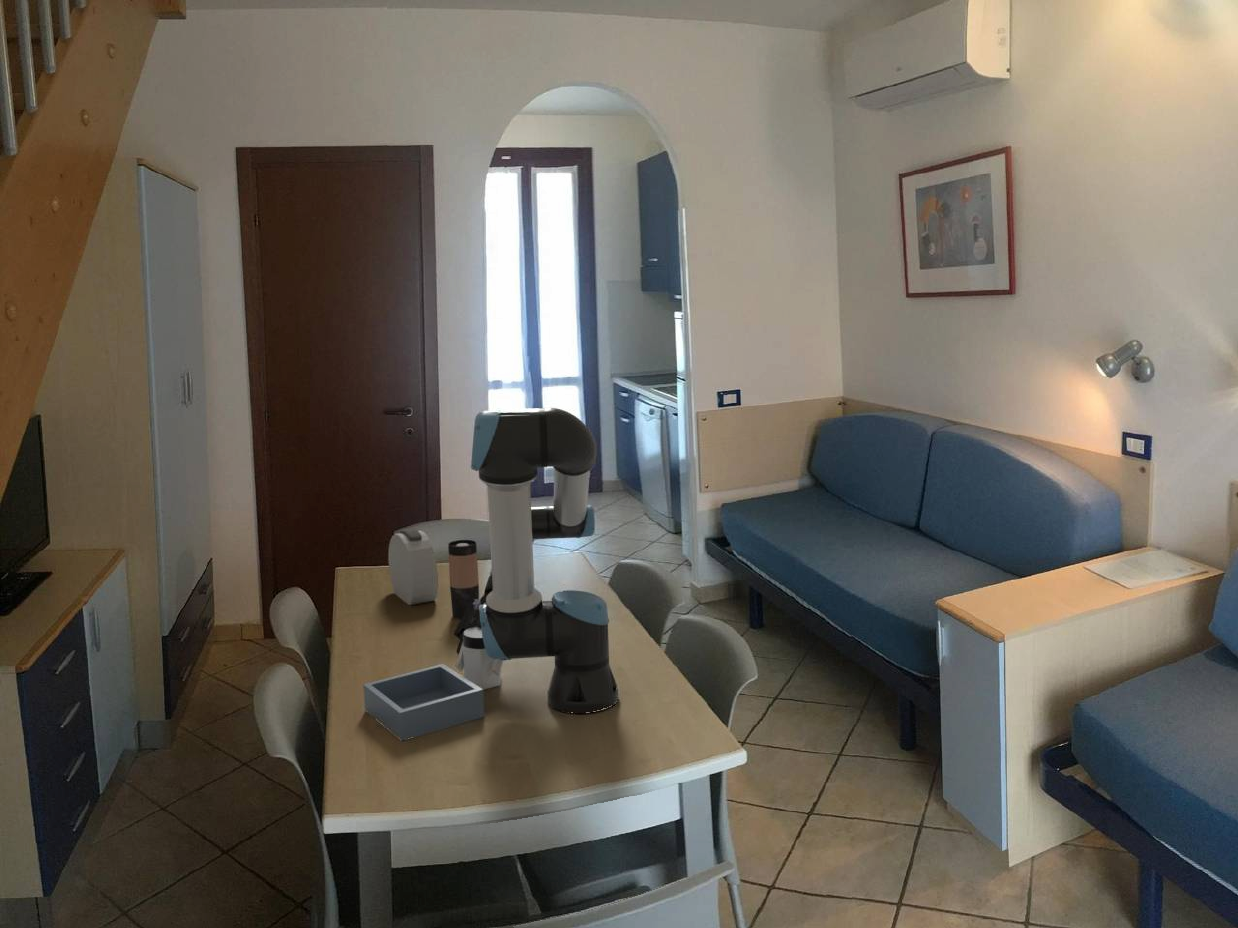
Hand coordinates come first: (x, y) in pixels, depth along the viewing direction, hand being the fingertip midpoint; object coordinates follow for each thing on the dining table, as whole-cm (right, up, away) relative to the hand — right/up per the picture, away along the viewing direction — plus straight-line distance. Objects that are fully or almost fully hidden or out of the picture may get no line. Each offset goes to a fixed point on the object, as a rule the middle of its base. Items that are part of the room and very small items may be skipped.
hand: (476, 670), depth 227 cm
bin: (-9, -7, -12) cm, 17 cm away
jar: (+1, -4, +4) cm, 6 cm away
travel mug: (-10, +5, +51) cm, 52 cm away
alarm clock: (-27, +7, +68) cm, 73 cm away
